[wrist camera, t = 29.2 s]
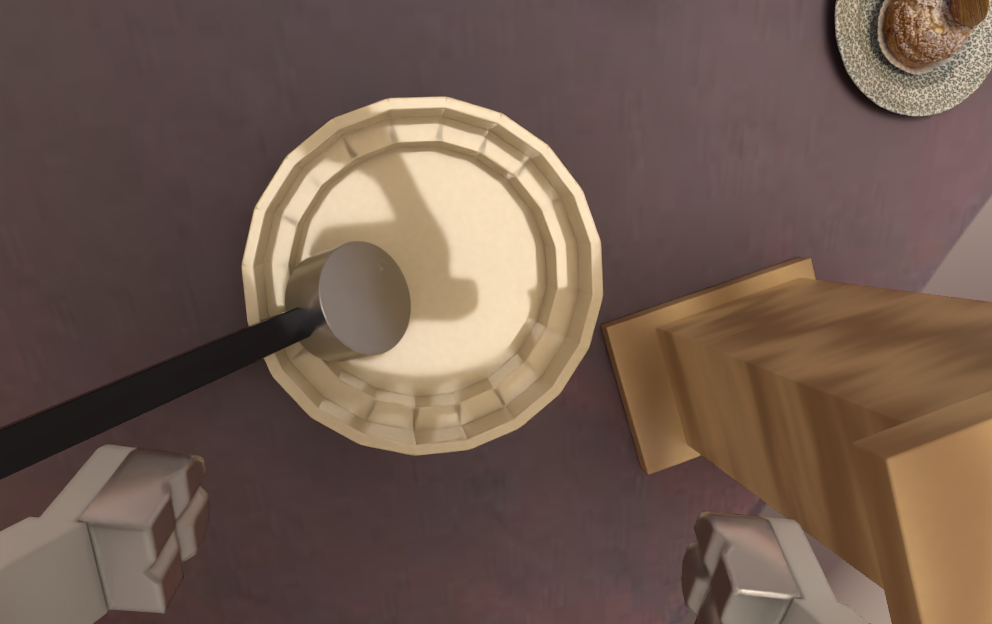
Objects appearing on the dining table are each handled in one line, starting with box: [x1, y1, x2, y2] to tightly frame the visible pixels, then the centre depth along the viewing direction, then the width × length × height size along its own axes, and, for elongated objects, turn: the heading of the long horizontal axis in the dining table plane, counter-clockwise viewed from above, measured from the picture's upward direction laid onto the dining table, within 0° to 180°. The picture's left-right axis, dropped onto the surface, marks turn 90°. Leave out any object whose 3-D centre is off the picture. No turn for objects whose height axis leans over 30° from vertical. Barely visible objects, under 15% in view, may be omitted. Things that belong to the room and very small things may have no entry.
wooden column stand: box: [601, 257, 992, 624], centre depth 32 cm, size 14×10×25 cm
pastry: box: [835, 0, 992, 117], centre depth 41 cm, size 12×12×5 cm
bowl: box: [241, 96, 603, 456], centre depth 38 cm, size 18×18×6 cm
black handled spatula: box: [0, 241, 411, 479], centre depth 30 cm, size 22×6×3 cm
